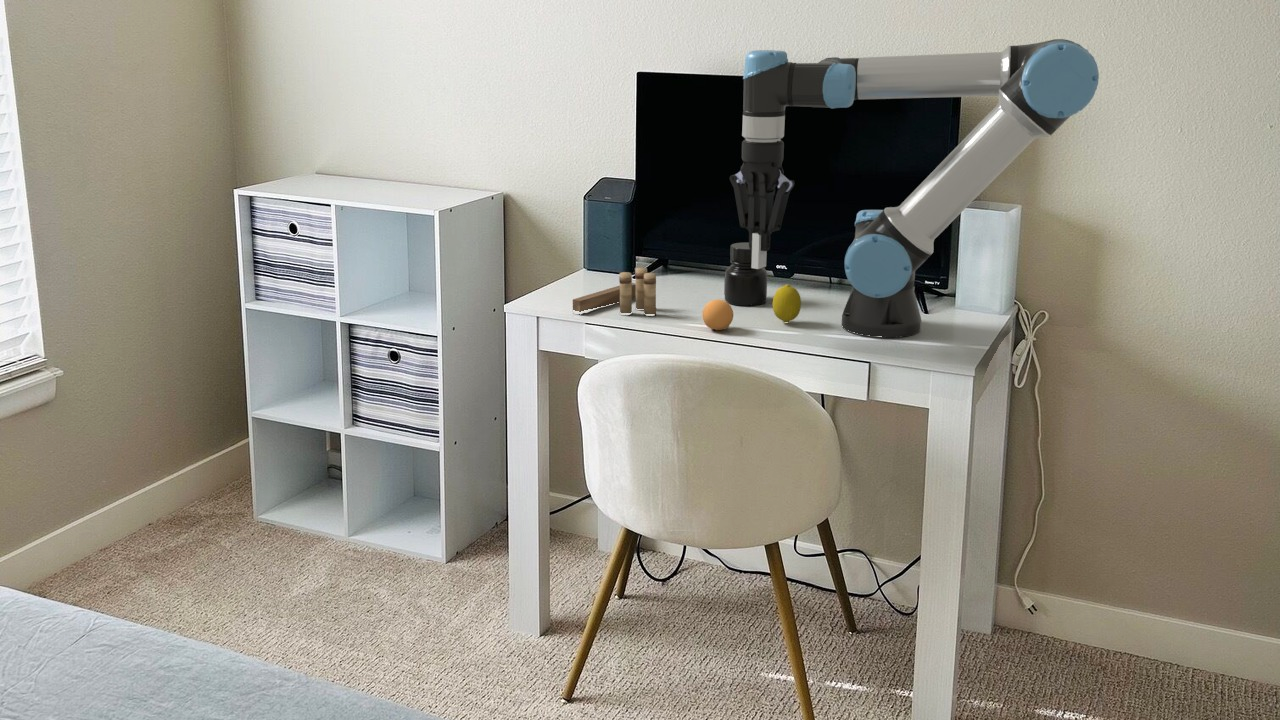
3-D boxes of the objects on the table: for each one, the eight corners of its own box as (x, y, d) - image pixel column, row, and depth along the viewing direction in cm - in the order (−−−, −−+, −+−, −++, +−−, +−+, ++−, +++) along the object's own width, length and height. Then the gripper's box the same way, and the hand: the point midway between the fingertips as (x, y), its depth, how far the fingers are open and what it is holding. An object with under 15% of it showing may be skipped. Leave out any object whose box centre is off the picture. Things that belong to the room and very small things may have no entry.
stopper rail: (636, 297, 250) (636, 283, 250) (580, 315, 237) (579, 301, 236) (629, 296, 252) (629, 282, 251) (572, 313, 239) (572, 299, 238)
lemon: (796, 328, 227) (798, 288, 225) (769, 325, 229) (770, 286, 227) (803, 321, 232) (804, 282, 230) (775, 318, 234) (777, 279, 232)
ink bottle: (759, 294, 252) (760, 240, 249) (774, 304, 244) (776, 248, 241) (716, 298, 250) (717, 243, 246) (731, 308, 242) (732, 251, 238)
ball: (739, 329, 227) (739, 299, 225) (721, 335, 223) (721, 305, 221) (714, 323, 231) (714, 294, 229) (696, 330, 226) (696, 300, 225)
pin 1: (634, 313, 238) (634, 273, 236) (626, 316, 236) (626, 275, 234) (625, 311, 240) (624, 271, 237) (617, 314, 238) (616, 273, 235)
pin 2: (650, 308, 242) (649, 268, 239) (642, 311, 240) (642, 271, 237) (640, 306, 243) (640, 267, 241) (633, 309, 241) (632, 269, 239)
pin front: (658, 314, 237) (658, 274, 235) (650, 317, 236) (650, 276, 233) (649, 312, 239) (648, 272, 236) (641, 315, 237) (641, 274, 234)
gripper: (805, 140, 208) (799, 268, 216) (745, 134, 216) (741, 258, 224) (782, 144, 203) (777, 276, 210) (721, 138, 211) (718, 265, 218)
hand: (758, 267), depth 217 cm, fingers closed
